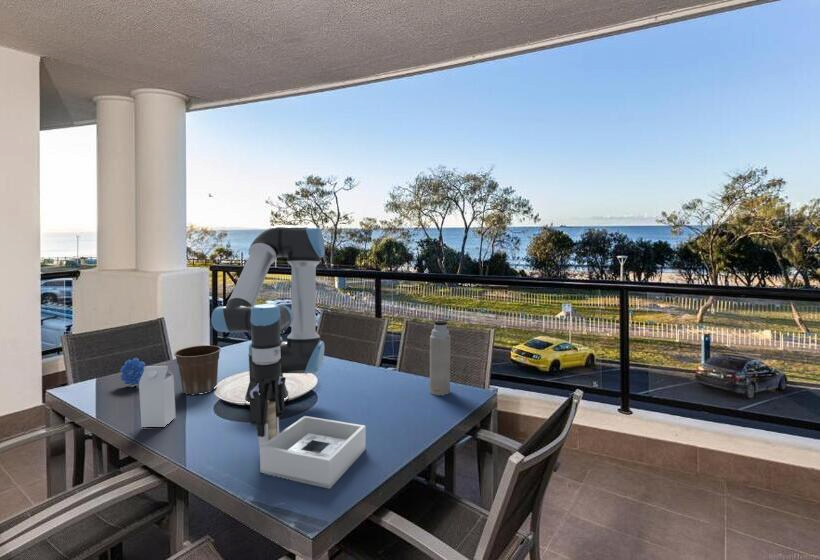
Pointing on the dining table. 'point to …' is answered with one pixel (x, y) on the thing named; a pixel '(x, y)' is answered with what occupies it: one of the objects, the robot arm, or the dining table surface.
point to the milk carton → (157, 396)
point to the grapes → (132, 371)
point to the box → (310, 466)
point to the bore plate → (317, 445)
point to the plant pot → (198, 368)
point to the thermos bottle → (440, 359)
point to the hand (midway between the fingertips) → (269, 442)
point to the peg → (271, 419)
